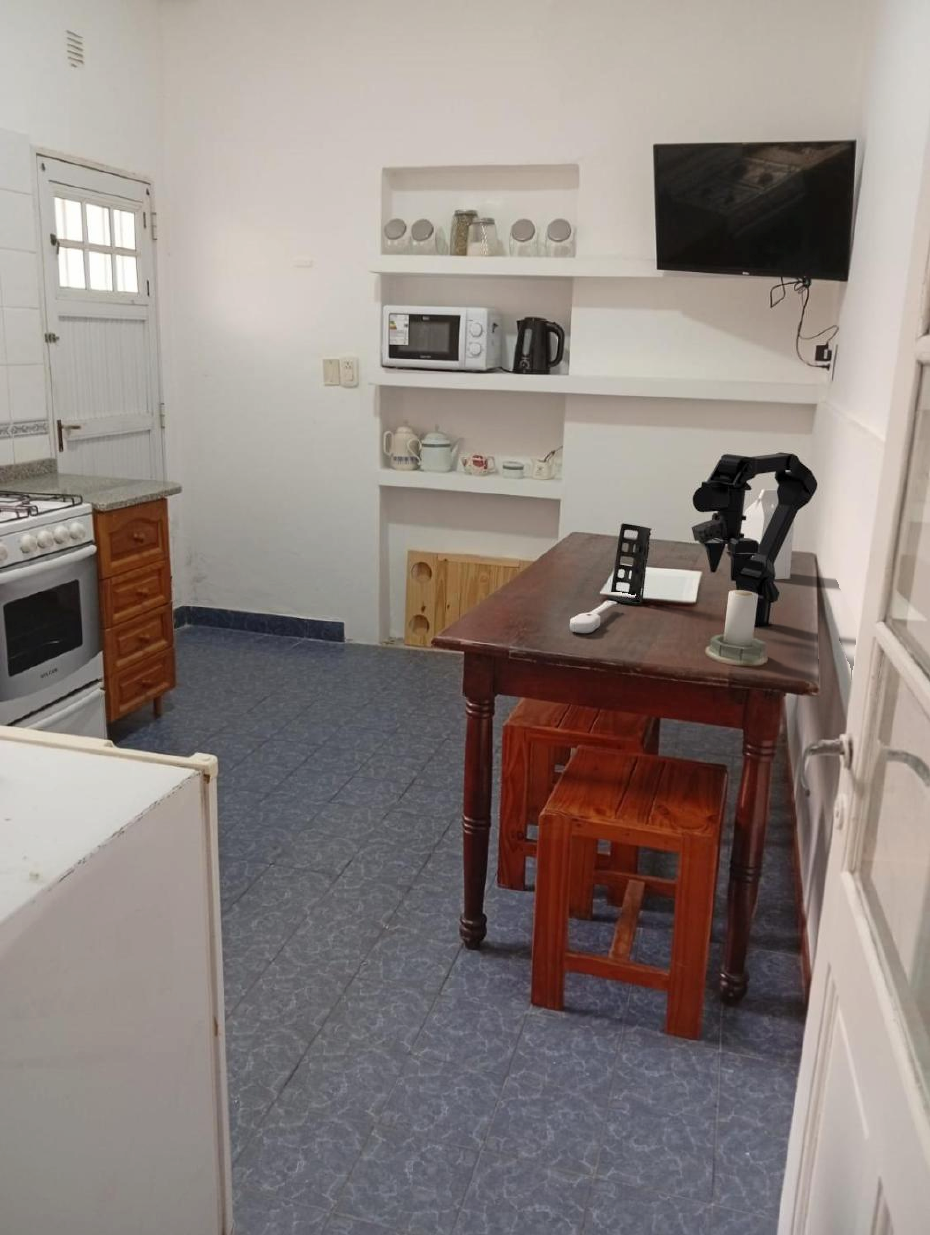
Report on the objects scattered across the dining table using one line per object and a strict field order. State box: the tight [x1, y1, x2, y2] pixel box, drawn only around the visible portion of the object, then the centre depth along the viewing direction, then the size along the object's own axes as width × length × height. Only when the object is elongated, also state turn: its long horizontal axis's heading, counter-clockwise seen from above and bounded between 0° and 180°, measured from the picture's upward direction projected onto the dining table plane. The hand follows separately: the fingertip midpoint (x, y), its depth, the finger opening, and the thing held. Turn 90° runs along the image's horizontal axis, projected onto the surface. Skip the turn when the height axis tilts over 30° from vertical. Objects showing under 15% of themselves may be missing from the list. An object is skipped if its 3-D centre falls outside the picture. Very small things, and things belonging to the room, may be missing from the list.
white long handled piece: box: [569, 600, 618, 634], centre depth 237 cm, size 28×6×3 cm, turn 156°
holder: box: [609, 523, 652, 607], centre depth 258 cm, size 11×8×20 cm
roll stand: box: [704, 634, 769, 667], centre depth 213 cm, size 13×13×4 cm
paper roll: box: [723, 589, 758, 647], centre depth 212 cm, size 6×6×13 cm
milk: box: [741, 488, 795, 580], centre depth 299 cm, size 12×12×26 cm
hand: (722, 576), depth 232 cm, fingers open, 9 cm apart
